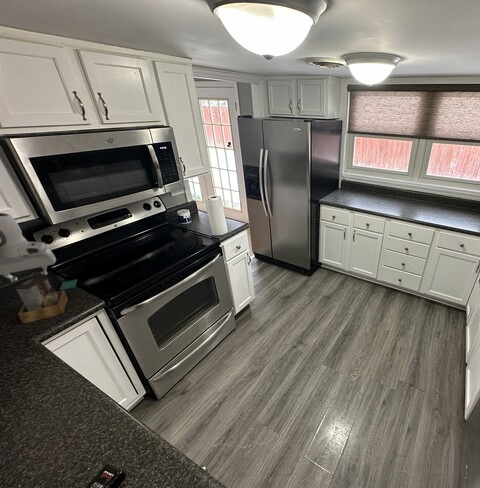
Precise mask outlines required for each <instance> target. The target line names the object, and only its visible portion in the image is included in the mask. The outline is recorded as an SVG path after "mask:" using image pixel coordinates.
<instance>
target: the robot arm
mask: <svg viewBox="0 0 480 488" xmlns="http://www.w3.org/2000/svg"><path fill="white" fill-rule="evenodd" d="M56 262H57V258H56V256H55V254H54V252H53V251H52V250H51V249H50V248H48V247H46V242H42V241H29V240H27V238H25V236H23V231H22V229H21V227H20V226H19V224H18V222H17V220H16V219H14V217H13V216H12V215H11V214H9V213H3V212H0V276H3V277H4V278H7V279H9V280H10V281H11V282H12V283H15V282H18V280H19V279H18V277H17V276H16V275H15V276H13V275H11V274H13V273H17V272H23V271H27V270H33V269H37V268H41V269H43V270H41V271H40V274H41V277H45V276H47V275H48V271H47V269H48V266H54V265H55V263H56Z"/></svg>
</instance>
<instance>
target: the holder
mask: <svg viewBox="0 0 480 488" xmlns="http://www.w3.org/2000/svg"><path fill="white" fill-rule="evenodd" d="M55 292H56V294H57V296H58V298H59V302H58V305H54V306H50V307H46V308H42V309H38V310H34V311H30V312H29V311H28V309H27V308H26V306H25V304H24V303H23V304H22V307H20V309H19V312H18V313H17V316H18V317H19V319H20V321H21V323H22V324H28V323H33V322H36V321H39V320H45V319H47V318H51V317H55V316H59V315H62V314H64V312H65V309H66V307H67V304H68V301H69V300H68V299H69V297H68V296H67V293H66V291H65V290H61V291H60V290H59V291H55Z"/></svg>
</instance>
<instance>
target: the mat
mask: <svg viewBox="0 0 480 488" xmlns="http://www.w3.org/2000/svg"><path fill="white" fill-rule="evenodd" d="M77 282H78V279H72V280H67V281H63V282H62V283H61V285H60V288H59V291H65V290H70V289H74V288H76V286H77Z"/></svg>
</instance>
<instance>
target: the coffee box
mask: <svg viewBox="0 0 480 488" xmlns="http://www.w3.org/2000/svg"><path fill="white" fill-rule="evenodd" d="M14 289H15V291H16V292H17V295H18V296H19V298H20V299H21V301H22V303H23V305H24V304H25V306H26V308H27V309H28V311H29V312H30V311H34V310H38V309H42V308H46V307H50V306H54V305H58V302H59V298H58V296H57V294H56V292H57V291H56V290H55V288H54V287H53V285H52V283H51V280H50V279H49V277H48V276H31V277H30V278H28V279H26V280H25V281H24V282H22V283H20V284H18V285H17V286H15V288H14Z"/></svg>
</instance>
